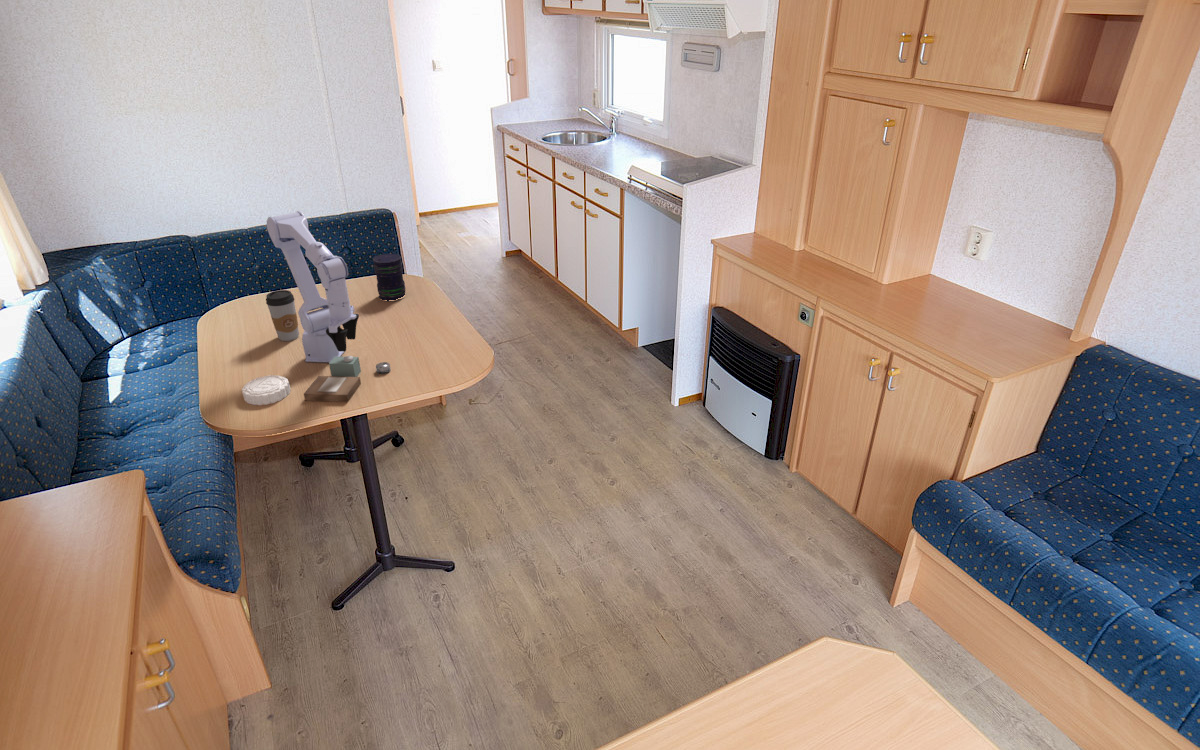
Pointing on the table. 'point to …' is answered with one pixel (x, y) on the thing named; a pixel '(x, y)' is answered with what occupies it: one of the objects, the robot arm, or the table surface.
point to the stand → (332, 388)
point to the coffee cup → (283, 314)
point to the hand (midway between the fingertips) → (346, 344)
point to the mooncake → (266, 390)
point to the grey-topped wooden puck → (383, 368)
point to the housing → (345, 366)
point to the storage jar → (389, 276)
